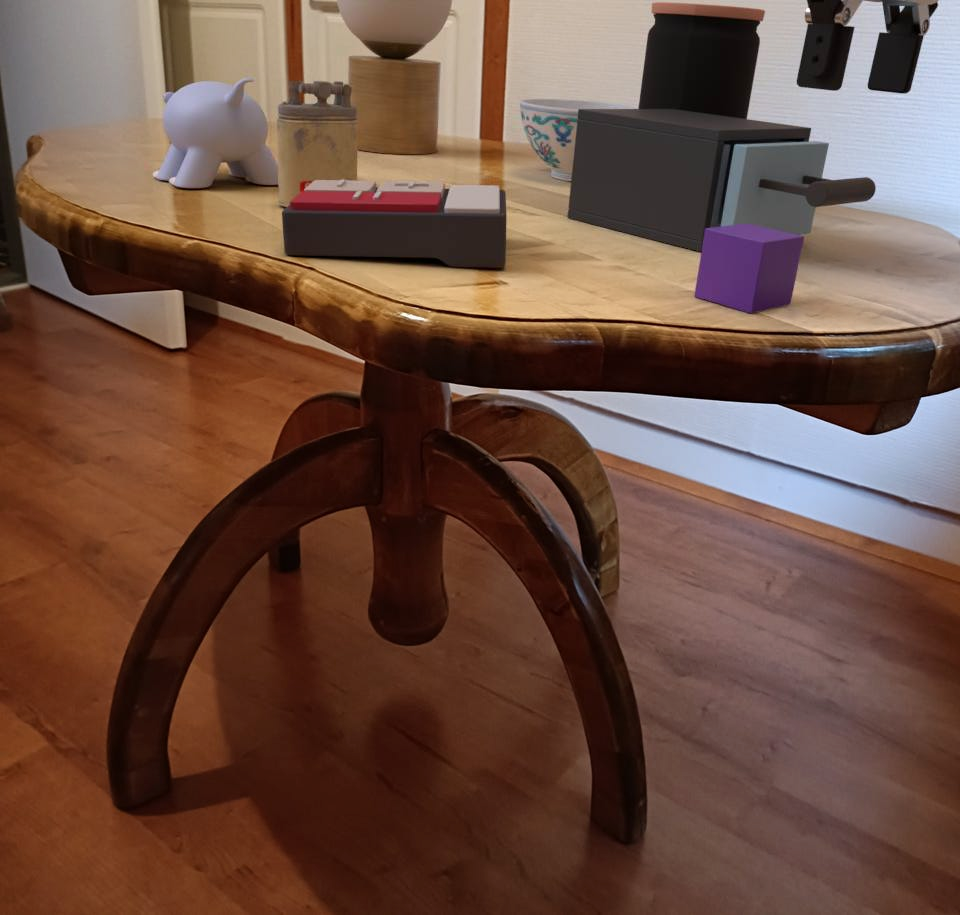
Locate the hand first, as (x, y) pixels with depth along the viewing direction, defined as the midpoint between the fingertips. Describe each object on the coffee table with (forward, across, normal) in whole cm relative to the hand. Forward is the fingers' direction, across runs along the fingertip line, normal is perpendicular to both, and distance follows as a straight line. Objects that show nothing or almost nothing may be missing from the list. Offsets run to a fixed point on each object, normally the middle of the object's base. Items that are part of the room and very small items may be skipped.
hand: (854, 90), depth 69 cm
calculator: (+13, -27, +18) cm, 35 cm away
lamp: (+13, +7, +66) cm, 68 cm away
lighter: (+13, -24, +34) cm, 43 cm away
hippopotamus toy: (+13, -26, +49) cm, 57 cm away
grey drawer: (+12, 0, +8) cm, 14 cm away
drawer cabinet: (+13, 0, +14) cm, 19 cm away
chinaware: (+13, +13, +38) cm, 42 cm away
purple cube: (+13, -16, -4) cm, 21 cm away
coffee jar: (+13, +13, +24) cm, 30 cm away
